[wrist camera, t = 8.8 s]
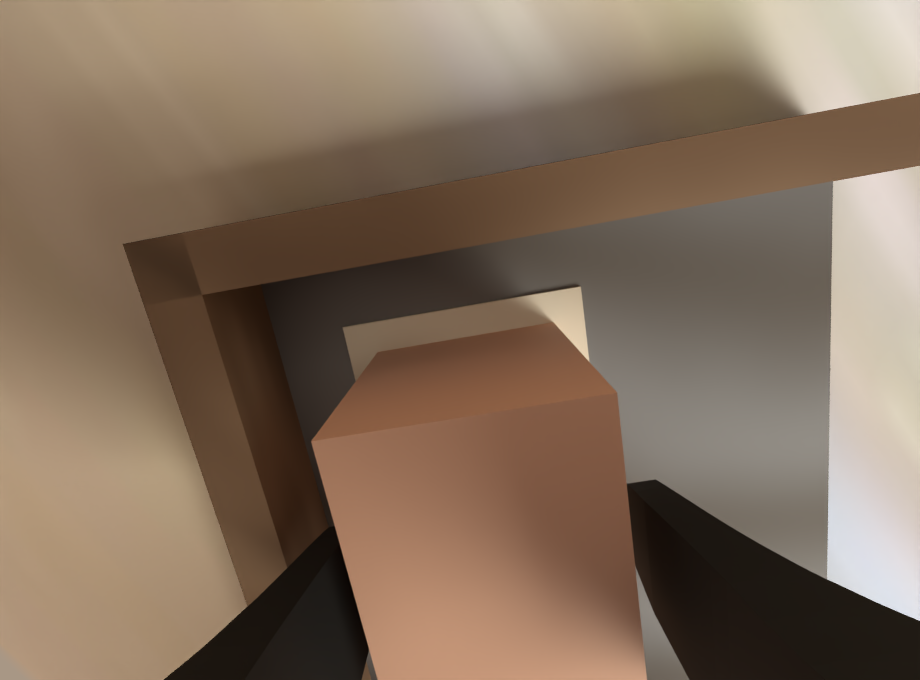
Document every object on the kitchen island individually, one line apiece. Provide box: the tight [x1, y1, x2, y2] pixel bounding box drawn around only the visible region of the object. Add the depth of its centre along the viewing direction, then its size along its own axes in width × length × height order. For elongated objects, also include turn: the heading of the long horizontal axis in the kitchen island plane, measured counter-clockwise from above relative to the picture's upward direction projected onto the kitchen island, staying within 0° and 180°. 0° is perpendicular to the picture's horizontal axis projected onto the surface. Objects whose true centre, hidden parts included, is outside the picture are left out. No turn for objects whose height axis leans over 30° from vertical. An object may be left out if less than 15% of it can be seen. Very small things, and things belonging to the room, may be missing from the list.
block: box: [311, 322, 647, 680], centre depth 10 cm, size 4×8×5 cm, turn 10°
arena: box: [123, 93, 920, 680], centre depth 12 cm, size 18×15×3 cm
